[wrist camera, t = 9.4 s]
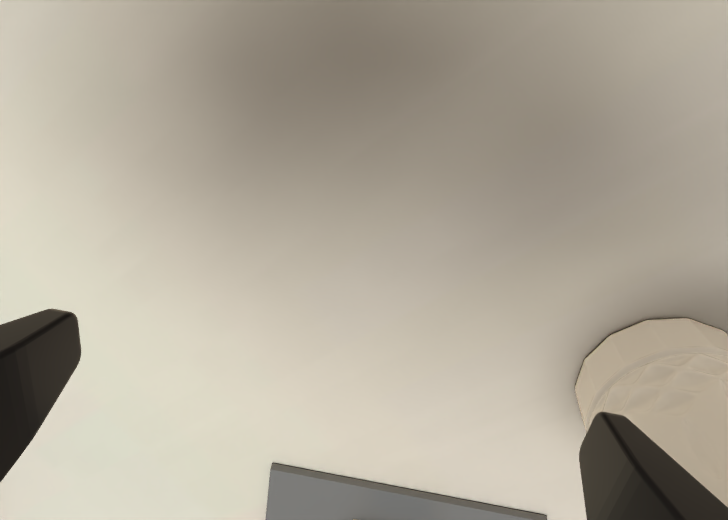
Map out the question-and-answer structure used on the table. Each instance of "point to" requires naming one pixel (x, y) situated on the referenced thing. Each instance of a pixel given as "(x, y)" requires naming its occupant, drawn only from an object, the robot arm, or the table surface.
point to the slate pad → (367, 500)
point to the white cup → (666, 391)
